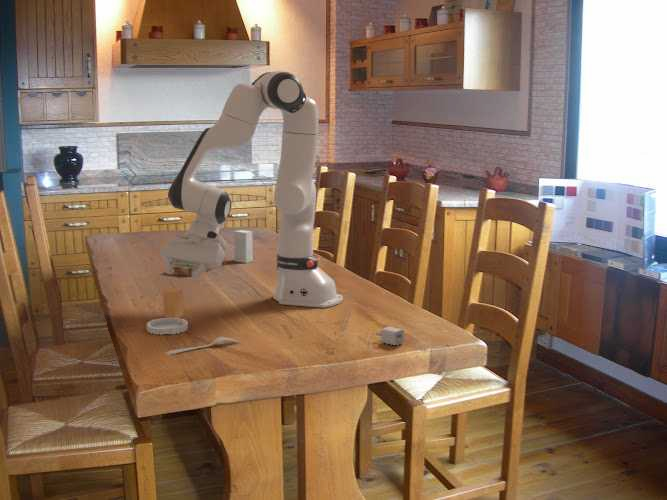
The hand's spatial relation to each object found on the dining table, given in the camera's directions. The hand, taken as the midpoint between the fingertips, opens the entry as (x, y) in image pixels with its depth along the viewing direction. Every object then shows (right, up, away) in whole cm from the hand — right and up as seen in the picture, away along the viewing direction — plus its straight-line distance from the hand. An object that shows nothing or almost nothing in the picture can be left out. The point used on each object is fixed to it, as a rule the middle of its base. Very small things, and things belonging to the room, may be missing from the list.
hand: (181, 275), depth 230 cm
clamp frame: (-7, 0, +57) cm, 57 cm away
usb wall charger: (+60, -17, -24) cm, 67 cm away
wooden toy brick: (-2, -12, -3) cm, 12 cm away
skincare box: (+10, +3, +73) cm, 74 cm away
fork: (+12, -18, -30) cm, 37 cm away
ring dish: (-1, -14, -15) cm, 21 cm away
